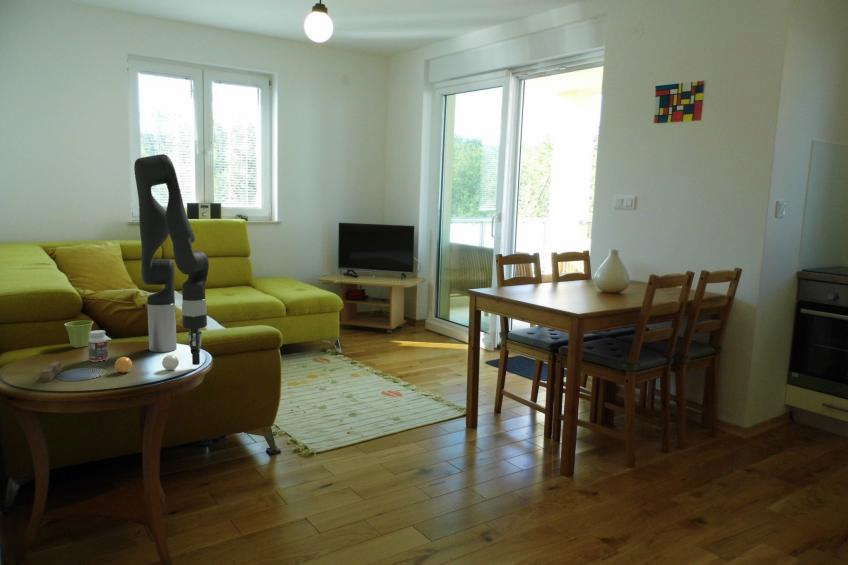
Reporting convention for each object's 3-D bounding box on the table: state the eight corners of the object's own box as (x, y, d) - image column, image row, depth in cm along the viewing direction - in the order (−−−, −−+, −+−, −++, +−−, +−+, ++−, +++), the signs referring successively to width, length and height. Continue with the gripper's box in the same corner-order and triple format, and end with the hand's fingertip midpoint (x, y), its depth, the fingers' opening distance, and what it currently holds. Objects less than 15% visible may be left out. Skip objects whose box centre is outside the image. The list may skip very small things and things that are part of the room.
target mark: (64, 369, 199) (63, 368, 199) (111, 367, 203) (111, 366, 203) (50, 382, 186) (50, 381, 186) (101, 379, 189) (101, 379, 189)
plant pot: (61, 349, 223) (60, 326, 222) (71, 343, 232) (69, 320, 231) (90, 348, 225) (88, 325, 224) (98, 342, 234) (96, 320, 233)
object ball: (117, 370, 199) (116, 355, 198) (133, 369, 200) (133, 354, 200) (113, 375, 194) (112, 359, 194) (130, 374, 196) (130, 358, 195)
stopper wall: (54, 370, 197) (53, 361, 197) (61, 370, 198) (60, 361, 198) (42, 381, 186) (41, 372, 186) (49, 381, 187) (48, 371, 186)
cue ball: (163, 368, 203) (163, 353, 202) (179, 367, 204) (179, 352, 203) (161, 372, 198) (160, 357, 197) (178, 371, 199) (177, 356, 199)
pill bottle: (100, 362, 207) (98, 334, 206) (85, 361, 208) (83, 333, 207) (111, 358, 213) (110, 330, 212) (97, 357, 214) (95, 329, 213)
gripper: (183, 309, 206) (185, 359, 208) (180, 317, 193) (182, 370, 196) (207, 308, 208) (209, 358, 211) (205, 316, 196) (207, 369, 198)
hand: (196, 364), depth 203 cm, fingers closed
